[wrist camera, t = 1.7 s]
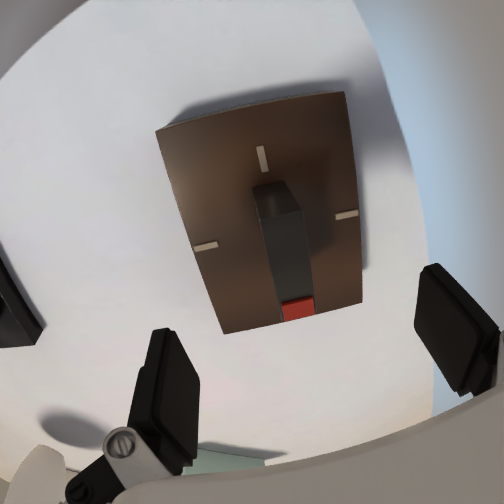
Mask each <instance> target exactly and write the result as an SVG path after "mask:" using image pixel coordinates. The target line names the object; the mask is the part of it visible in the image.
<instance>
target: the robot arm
mask: <svg viewBox="0 0 504 504" xmlns="http://www.w3.org/2000/svg"><path fill="white" fill-rule="evenodd" d="M414 328H415V331H416V333H417V334H418V336H419V337H420V339H421V340H422V342H423V343H424V345H425V347H426V348H427V350H428V351H429V353H430V354H431V356H432V358H433V359H434V361H435V362H436V364H437V366H438V367H439V369H440V370H441V372H442V374H443V375H444V377H445V379H446V380H447V382H448V384H449V385H450V387H451V389H452V390H453V391H454V392H456V391H457V393H458V395H459V396H460V397H461V396H464V395H465V394H467V393H469V392H471V393H472V394H473V398H472V399H470V400H469V401H467V402H464V403H462V404H461V405H458V406H456V407H454V408H452V409H450V410H448V411H446V412H443V413H442V414H439V415H437V416H435V417H432V418H430V419H428V420H425V421H423V422H421V423H418V424H416V425H413V426H411V427H408V428H406V429H403V430H400V431H398V432H395V433H392V434H390V435H387V436H384V437H381V438H378V439H375V440H372V441H369V442H366V443H363V444H360V445H356V446H353V447H350V448H346V449H342V450H339V451H335V452H331V453H327V454H323V455H319V456H315V457H311V458H306V459H302V460H297V461H292V462H287V463H282V464H276V465H270V466H264V467H257V468H250V469H242V470H234V471H226V472H216V473H204V474H193V475H182V473H183V467H193V459H196V458H197V450H198V420H199V397H200V380H199V376H198V374H197V372H196V371H195V369H194V367H193V365H192V363H191V361H190V359H189V357H188V355H187V354H186V352H185V350H184V348H183V346H182V344H181V342H180V340H179V338H178V336H177V334H176V332H175V331H171V330H170V329H169V328H162V329H157V330H153V332H152V335H151V339H150V343H149V347H148V351H147V356H146V360H145V364H144V366H142V367H141V368H140V370H139V373H138V377H137V382H136V386H135V390H134V395H133V400H132V404H131V409H130V414H129V418H128V423H127V427H119V428H116V429H114V430H112V431H111V432H110V433H109V434H108V435H107V436H106V438H105V439H104V442H103V453H104V454H103V455H102V456H101V457H100V458H98V459H97V460H96V461H94V462H93V463H92V464H90V465H89V466H88V467H87V468H85V469H84V470H83V471H81V472H80V473H79V474H77V475H76V476H75V477H73V478H72V479H71V480H70V481H69V482H68V484H67V486H66V488H65V498H66V500H65V502H62V501H60V503H59V504H504V331H502V333H501V332H500V330H499V327H498V326H497V325H496V324H495V322H494V321H493V320H492V319H491V318H490V317H489V315H488V314H487V313H486V312H485V311H484V310H483V309H482V308H481V306H480V305H479V304H478V303H477V302H476V301H475V300H474V299H473V298H472V297H471V296H470V295H469V294H468V293H467V291H466V290H465V289H464V288H463V287H462V286H461V285H460V284H459V283H458V282H457V281H456V280H455V279H454V278H453V277H452V276H451V275H450V274H449V273H448V272H447V271H446V270H445V269H444V268H443V267H442V266H441V265H440V264H439V263H434V264H431V265H428V266H425V267H424V268H423V271H422V272H421V273H420V279H419V288H418V297H417V304H416V312H415V319H414Z"/></svg>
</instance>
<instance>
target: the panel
mask: <svg viewBox="0 0 504 504" xmlns="http://www.w3.org/2000/svg"><path fill="white" fill-rule="evenodd" d="M155 133H156V137H157V140H158V144H159V147H160V150H161V154H162V157H163V160H164V164H165V167H166V170H167V173H168V177H169V180H170V183H171V186H172V189H173V193H174V196H175V199H176V202H177V205H178V208H179V211H180V214H181V217H182V220H183V223H184V226H185V229H186V232H187V235H188V238H189V241H190V244H191V247H192V250H193V252H194V255H195V258H196V261H197V264H198V267H199V269H200V272H201V275H202V278H203V281H204V283H205V286H206V289H207V292H208V294H209V297H210V300H211V302H212V305H213V308H214V310H215V313H216V316H217V318H218V321H219V323H220V326H221V329H222V331H223V334H230V333H235V332H240V331H245V330H250V329H255V328H259V327H264V326H269V325H273V324H278V323H282V322H287V321H282V320H281V317H280V312H279V308H278V303H277V299H276V294H275V290H274V285H273V281H272V277H271V272H270V268H269V263H268V259H267V254H266V250H265V246H264V241H263V237H262V232H261V228H260V224H259V219H258V215H257V210H256V206H255V202H254V197H253V193H252V188H253V187H258V186H262V185H267V184H271V183H276V182H280V181H285V183H286V185H287V186H288V188H289V189H290V191H291V193H292V194H293V196H294V198H295V199H296V201H297V202H298V204H299V206H300V207H301V209H302V211H303V214H304V221H305V227H306V234H307V240H308V247H309V254H310V261H311V269H312V276H313V284H314V292H315V300H316V308H317V313H316V314H320V313H324V312H328V311H332V310H336V309H340V308H344V307H347V306H351V305H355V304H359V303H362V251H361V231H360V215H359V202H358V190H357V180H356V170H355V161H354V153H353V145H352V137H351V130H350V123H349V117H348V110H347V104H346V98H345V93H344V91H323V92H315V93H308V94H301V95H295V96H289V97H283V98H277V99H272V100H266V101H261V102H256V103H252V104H247V105H242V106H238V107H233V108H229V109H225V110H221V111H217V112H213V113H209V114H205V115H201V116H197V117H194V118H190V119H187V120H183V121H180V122H176V123H173V124H170V125H166V126H164V127H163V128H161V129H159V130H157V131H155ZM316 314H315V315H316ZM311 316H312V315H311ZM306 317H308V316H306ZM302 318H304V317H302ZM298 319H300V318H298ZM294 320H295V319H294ZM289 321H291V320H289Z"/></svg>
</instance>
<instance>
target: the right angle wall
mask: <svg viewBox="0 0 504 504" xmlns="http://www.w3.org/2000/svg"><path fill="white" fill-rule="evenodd" d="M264 466H265V463H264V459H261V458H253V457H245V456H238V455H231V454H225V453H219V452H214V451H208V450H203V449H198V450H197V458H196V459H193V467H183V473H182V475H193V474H204V473H216V472H226V471H234V470H242V469H250V468H257V467H264Z"/></svg>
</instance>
